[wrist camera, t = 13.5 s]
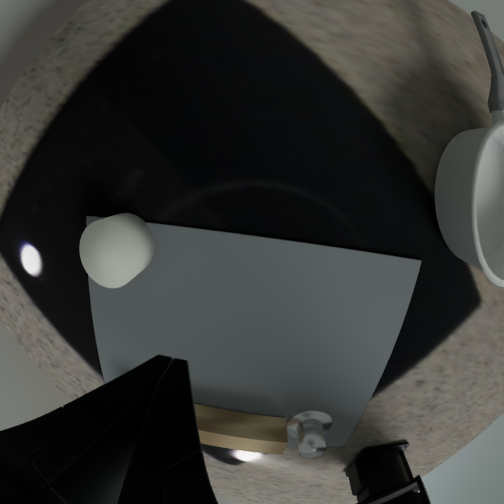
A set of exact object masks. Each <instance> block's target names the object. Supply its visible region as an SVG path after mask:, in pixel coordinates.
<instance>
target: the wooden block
mask: <svg viewBox="0 0 504 504" xmlns="http://www.w3.org/2000/svg"><path fill="white" fill-rule="evenodd" d="M194 407H195V413H196V419H197V425H198V431H199V436H200V442H201V443H203V444H208V445H213V446H218V447H224V448H230V449H236V450H243V451H251V452H260V453H270V454H282V453H283V452H284V450H285V448H286V446H287V444H288V434H287V419H286V418H280V417H270V416H262V415H255V414H248V413H241V412H235V411H229V410H224V409H218V408H213V407H208V406H204V405H199V404H195V403H194Z"/></svg>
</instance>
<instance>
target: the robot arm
mask: <svg viewBox="0 0 504 504" xmlns="http://www.w3.org/2000/svg"><path fill="white" fill-rule="evenodd" d="M408 446H409V443H408V442H403V443H398V444H391V445H385V446H377V447H369V448H365V449H363V450H362V451H361V453H360V454H359V456H358V457H357V458H356V460H355V461H354V462H353V464H352V465H351V467H350V468H349V469H348V470H347V472H346V473H345V474H346V476H347V477H349V481H350V486H351V490H352V494H353V495H354V496H357V501H358V503H357V504H431V502H430V499H429V496H428V494H427V491H426V489H425V486H424V484H423V481H422V479H421V477H420V475H418V476H416V477H415V478H414V477H413V475H412V472H411V470H410V467H409V465H408V462H407V460H406V457H405V455H404V451H405V450H406V449H407V448H408ZM419 490H420V492H419V493H418V491H419ZM0 504H218V502H217V500H216V497H215V495H214V492H213V489H212V487H211V484H210V481H209V477H208V473H207V470H206V466H205V461H204V456H203V453H202V447H201V442H200V436H199V431H198V425H197V419H196V413H195V407H194V400H193V394H192V387H191V379H190V372H189V364H188V361H187V360H185V359H180V358H172V357H170V356H165V355H161V354H158V355H156V356H154V357H152V358H151V359H149V360H147V361H145V362H144V363H142V364H140V365H138V366H137V367H135V368H133V369H131V370H129V371H128V372H126V373H124V374H122V375H120V376H119V377H117V378H115V379H113V380H111V381H109V382H107V383H106V384H104V385H102V386H100V387H98V388H96V389H94V390H93V391H91V392H89V393H87V394H85V395H83V396H81V397H79V398H77V399H75V400H73V401H71V402H69V403H68V404H66V405H64V406H63V407H60V408H57V409H56V410H53V411H51V412H49V413H47V414H45V415H43V416H41V417H38V418H36V419H34V420H31V421H28V422H26V423H23V424H20V425H18V426H14V427H11V428H8V429H5V430H2V431H0Z"/></svg>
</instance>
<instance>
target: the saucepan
mask: <svg viewBox="0 0 504 504" xmlns="http://www.w3.org/2000/svg"><path fill="white" fill-rule="evenodd" d="M471 15H472V17H473V19H474V22H475V24H476V27H477V30H478V32H479V35H480V38H481V41H482V44H483V46H484V50H485V53H486V56H487V59H488V63H489V66H490V70H491V74H492V76H491V88H490V93H489V98H488V106H489V111H490V113H491V116H492V122H493V126H491V127H485V128H478V129H471V130H467V131H464V132H461V133H459V134H458V135H457V136H455V137H454V138H453V139H452V140H451V141H450V142H449V144H448V145H447V146H446V148H445V150H444V152H443V154H442V156H441V159H440V162H439V166H438V169H437V174H436V181H435V208H436V216H437V220H438V224H439V228H440V231H441V233H442V236H443V238H444V240H445V242H446V244H447V245H448V247H449V249H450V250H451V251H452V252H453V253H454V254H455V255H456V256H457V257H458V258H460V259H462V260H463V261H465V262H467V263H469V264H471V265H473V266H475V267H477V268H478V269H480V270H482V271H484V273H485V274H486V275H487V276H488V278H489V279H490V280H491V281H492V282H493V283H495V284H496V285H498V286H501V287H504V68H503V65H502V62H501V58H500V55H499V52H498V49H497V47H496V44H495V41H494V38H493V36H492V33H491V31H490V28H489V26H488V24H487V21H486V19H485V17H484V15H482V14H480V13H478V12H476V11H473V12H471Z"/></svg>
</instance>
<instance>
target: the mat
mask: <svg viewBox="0 0 504 504" xmlns="http://www.w3.org/2000/svg"><path fill="white" fill-rule="evenodd" d="M100 219H104V218H103V217H94V216H87V220H86V228H87V227H88V226H89V225H90V224H91V223H93V222H94V221H97V220H100ZM145 223H146V224H147V225H148V226H149V228H150V230H151V232H152V234H153V238H154V243H155V250H154V255H153V258H152V260H151V262H150V264H149V265H148V266H147V267H146V268H145V269H144V270H143V271H141V272H140V273H139V274H138V275H136V276H135V277H134V278H133V279H132V280H130V281H129V282H128V283H127V284H125V285H124V286H122V287H119V288H107V287H104V286H101V285H99V284H98V283H96V282H95V281H94V280H93V279H92V278H91V277H90V276H89V275H88V279H89V291H90V301H91V309H92V317H93V324H94V331H95V337H96V343H97V349H98V354H99V359H100V364H101V369H102V373H103V378H104V382H105V384H106V383H107V382H109V381H111V380H113V379H115V378H117V377H119V376H120V375H122V374H124V373H126V372H128V371H129V370H131V369H133V368H135V367H137V366H138V365H140V364H142V363H144V362H145V361H147V360H149V359H151V358H152V357H154V356H156V355H158V354H161V355H165V356H170V357H172V358H180V359H185V360H187V361H188V364H189V372H190V379H191V387H192V394H193V400H194V403H195V404H199V405H204V406H208V407H213V408H218V409H224V410H229V411H235V412H241V413H248V414H255V415H262V416H270V417H280V418H286V419H287V422H288V421H289V419H290V418H292V417H293V416H295V415H296V414H299V413H301V412H305V411H311V410H317V411H323V412H326V413H327V414H329V415H330V416H331V418H332V426H331V428H330V429H329V430H328V431H327V432H326V433H324V438H325V443H326V447H338V446H344V445H345V444H346V442H347V440H348V439H349V437H350V435H351V433H352V432H353V430H354V428H355V427H356V425H357V423H358V421H359V419H360V418H361V416H362V414H363V412H364V410H365V408H366V406H367V404H368V402H369V400H370V398H371V396H372V394H373V392H374V390H375V388H376V386H377V384H378V382H379V380H380V378H381V375H382V373H383V371H384V369H385V366H386V364H387V362H388V359H389V357H390V355H391V352H392V350H393V347H394V345H395V342H396V340H397V337H398V334H399V332H400V329H401V326H402V323H403V321H404V318H405V315H406V312H407V309H408V306H409V303H410V300H411V297H412V293H413V290H414V287H415V283H416V280H417V276H418V272H419V269H420V265H421V260H417V259H411V258H404V257H398V256H392V255H385V254H379V253H372V252H366V251H359V250H352V249H345V248H339V247H332V246H325V245H318V244H311V243H304V242H297V241H290V240H282V239H275V238H268V237H260V236H253V235H245V234H238V233H230V232H222V231H214V230H206V229H198V228H190V227H182V226H174V225H165V224H157V223H148V222H145ZM287 434H288V433H287ZM286 447H298V439H297V438H294V437H292V436H290V435H289V434H288V444H287V446H286Z"/></svg>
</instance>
